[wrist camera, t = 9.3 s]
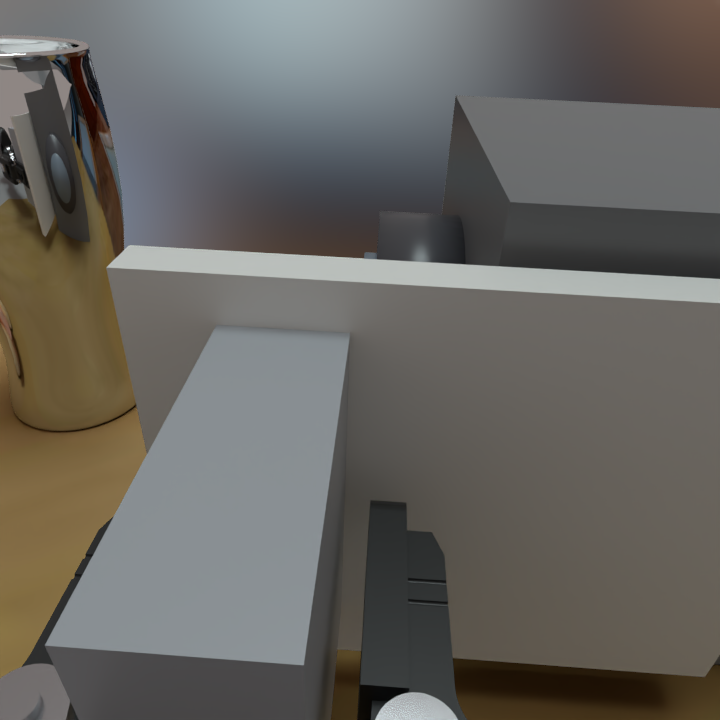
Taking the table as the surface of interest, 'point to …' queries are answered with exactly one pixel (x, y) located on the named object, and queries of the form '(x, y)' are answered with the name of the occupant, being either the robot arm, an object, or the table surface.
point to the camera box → (572, 190)
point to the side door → (398, 474)
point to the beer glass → (58, 238)
